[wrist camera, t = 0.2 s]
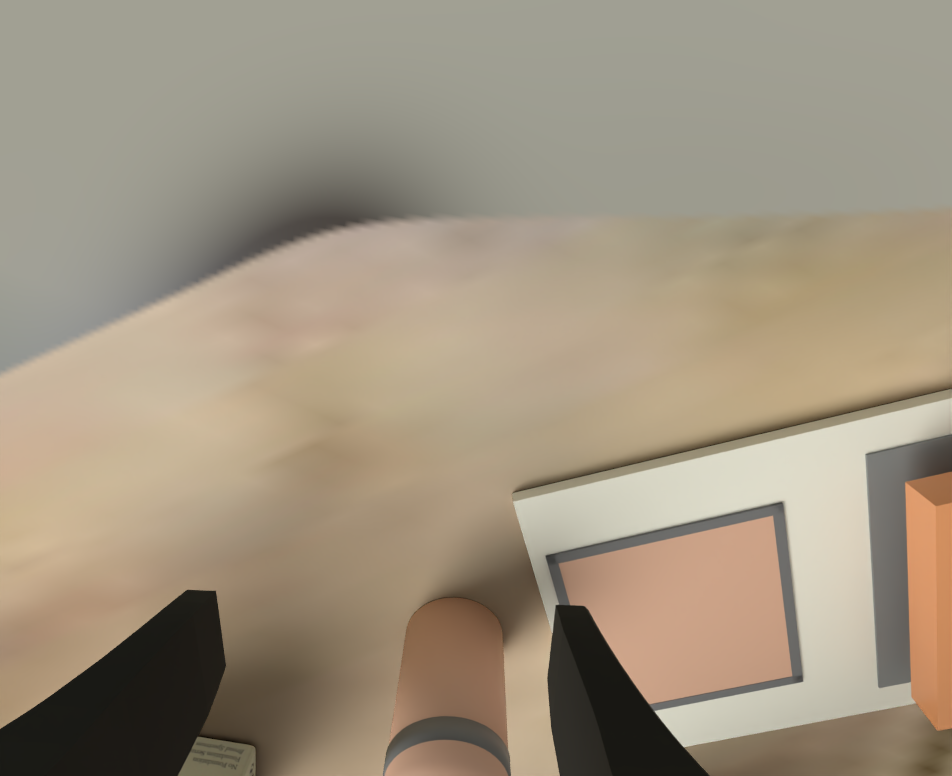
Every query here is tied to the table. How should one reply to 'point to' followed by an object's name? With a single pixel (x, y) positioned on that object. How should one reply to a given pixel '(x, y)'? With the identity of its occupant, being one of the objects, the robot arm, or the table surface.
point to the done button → (930, 595)
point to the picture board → (750, 568)
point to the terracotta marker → (450, 695)
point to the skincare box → (219, 759)
